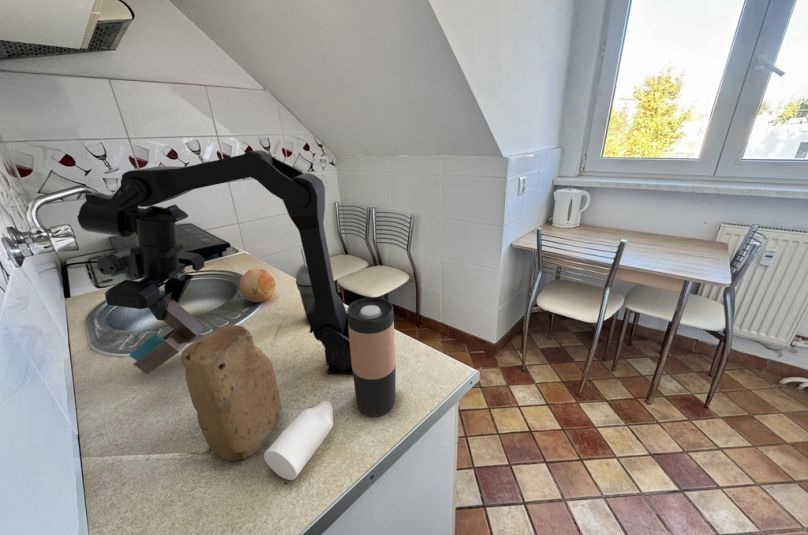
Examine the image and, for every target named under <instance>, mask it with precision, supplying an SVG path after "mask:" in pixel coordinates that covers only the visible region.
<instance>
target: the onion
mask: <svg viewBox="0 0 808 535" xmlns="http://www.w3.org/2000/svg"><path fill="white" fill-rule="evenodd" d="M275 291H276V280H275V278H274V276H273V275H272V274H271V273H270V272H269V271H267V270H266V269H264V268H253V269H252V268H251V269H249V270H248V271H246V272H245V273H244V274H243V275H242V276H241V278H240V280H239V292H240V295H241V296H242V297H243V298H244V299H245V300H247V301H248V302H250V303H260V302H264V301H268V300H269V299H271V298H272V297H273V296H274V294H275Z"/></svg>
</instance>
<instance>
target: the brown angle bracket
mask: <svg viewBox="0 0 808 535" xmlns="http://www.w3.org/2000/svg"><path fill="white" fill-rule="evenodd" d="M163 322H164V323H165V324H167V325H168V326H169V327H170V328H171V329H172V330H170V331H169V332H167V333H166V334H164V336H162V339H163V340H164V342H163V343H161V344H160V345H158V346H157V347H156V348H154V349H153V350H151V351H150V352H149V353H147V354H146V355H144V356H143V357H142V358H140V359H139V360H137V361H136V360H135V362H133V365H134V366H135V367H136V368H137V369H138V370H140V371H142V372H143V373H144V374H145V375H149V374H150V373H152V372H153V371H155V370H156V369H157V368H158V367H160V366H161V365H163V364H164V363H166V362H167V361H168V360H170V359H171V358H173V357H174V356H176V355H178V354H179V353H180V352H182V351H183V350H184V348H185V347H186V346H187V345H188V343H190V342H191V341H193V340H194V339H195V338H197V337H198V336H199V335H200V334H201V333H202V332H203V331H204V330H205V328H206V327H205V324H204V323H203V322H202V321H201V320H199V319H198V318H197V317H196V316H195V315H193V314H191V313H189V312H188V311H187V310H186V309H185V308H184V307H182V305H180V303H177V302H176V301H175V300H173V299H172V298H170V301H169V305H168V309H167V312H166V315H165V318H164V320H163Z"/></svg>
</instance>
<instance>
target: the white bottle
mask: <svg viewBox="0 0 808 535" xmlns="http://www.w3.org/2000/svg"><path fill="white" fill-rule="evenodd" d="M332 406H333V404H331V402H330V401H329V400H323V401H321V402H319V403H318V404H317V405H316V406H314V407H310V408H309V407H308V408H305V409H303V410H302V411H300V412H299V414H298V415H297V416H296V417H295V419H293V421H292V422H291V423H289V425H288V426H287V427H286V428H285V429H283V431H281V433H280V434H279V436H277V438H276V439H275V441H274V442H273V443H272V444H271V445H270V446H269V448H268V449H267V450H265V451H264V454H263V458H264V460H265V463H266V464H267V465H268V467H269V468H270V469H271V470H272V471H273V472H274V473H275V474H276V475H278V476H279V477H281V478H282V479H285V480H288V481H294V480H296V479H297V477H298V476H299V474H300V473H301V472H302V471H303V469H304V468H305V466H306V465H307V463H308V461H309V460H310V459H311V458H312V457H313V455H314V454H315V452H316V451H317V450H318V448H319V447H320V446H321V445H322V443H323V442H324V440H325V439H326V438H327V436H328V435H329V433H330V431H331V430H332V429H333V427H334V409H333V407H332Z"/></svg>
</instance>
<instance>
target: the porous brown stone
mask: <svg viewBox="0 0 808 535" xmlns="http://www.w3.org/2000/svg"><path fill="white" fill-rule="evenodd" d="M180 361H181V364H182V366H183V367H184V369H185V371H184V376H185V380H186V381H185V382H186V385H187V389H188V392H189V396H190V399H191V403H192V405H193V408H194V410H195V412H196V417H197V422H198V425H199V428H200V430H201V433H202V435H203V437H204V440H205V441H206V444H207V445H208V447H209V448H210V449H211V451H213V452H214V453H215V454H216V455H217V456H219V457H221V458H222V459H224V460H227V461H229V462H235V461H236V460H246V459H248V458H250V457H252V456H253V455H255V454H256V453H257V452H258V451H259V450H260V449H261V448H262V447H263V446H264V445H265V444H266V443H267V441H268V440H269V438H270V436H271V434H272V432H273V431H274V429H275V427H276V425H277V423H278V420H279V417H280V416H279V415H280V410H282V404H281V395H280V391H279V385H278V381H277V377H276V372H275V368H274V366H273V363H272V361H271V359H270V357H268V356H267V354H265V353H264V352H263V350H262V348H260V347H259V346H256V345H255V342H254V336H253V334H252V333H251V332H250V330H249V329H247V328H246V327H245V326H243V325H241V324H225V325H224V324H223V325H221V326H219V327H217V328H215V329H214V330H212V331H210V332H208V333H205V334H203V335H201V337H199V338H198V339H197V340H195V341H193V342H192V343H190V344H189V345H188V346H187V347H186V348H185V349H183V350H182V351H181V354H180Z"/></svg>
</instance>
